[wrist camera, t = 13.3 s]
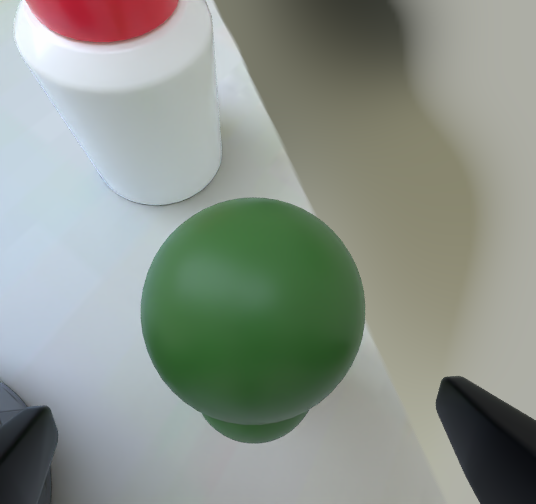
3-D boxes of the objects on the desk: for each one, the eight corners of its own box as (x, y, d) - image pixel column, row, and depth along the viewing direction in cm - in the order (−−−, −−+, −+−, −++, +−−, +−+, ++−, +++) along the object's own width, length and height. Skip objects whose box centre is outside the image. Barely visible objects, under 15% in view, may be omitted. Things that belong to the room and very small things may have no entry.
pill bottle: (240, 182, 21) (240, -7, 11) (114, 223, 20) (-23, 45, 9) (199, 92, 24) (168, -132, 13) (83, 122, 22) (-53, -109, 12)
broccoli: (302, 410, 17) (447, 468, 5) (194, 418, 16) (76, 501, 5) (291, 288, 19) (375, 130, 7) (196, 291, 18) (122, 128, 7)
